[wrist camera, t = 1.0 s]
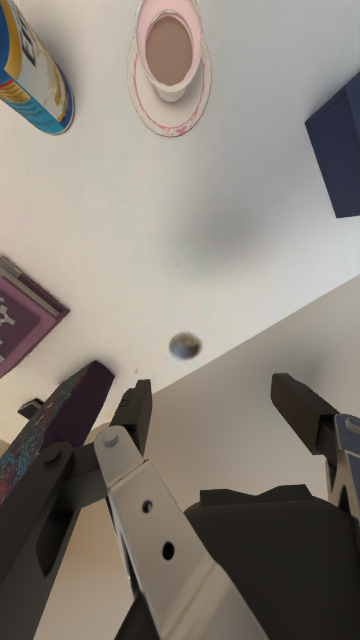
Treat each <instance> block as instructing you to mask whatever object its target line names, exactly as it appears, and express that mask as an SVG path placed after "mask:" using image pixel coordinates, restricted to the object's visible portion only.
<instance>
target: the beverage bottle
mask: <svg viewBox="0 0 360 640" xmlns="http://www.w3.org/2000/svg"><path fill="white" fill-rule="evenodd" d="M0 99H1V100H2V101H4V102H5V103H6V104H7V105H9V106H10V107H11V108H13V109H14V110H15V111H17V112H18V113H19V114H20V115H22V116H23V117H24V118H26V119H27V120H28V121H29V122H30V123H31V124H32V125H34V126H35V127H36V128H38V129H39V130H41V131H43V132H45V133H48V134H60V133H62V132H64V131H65V130H66V129H67V128H68V127H69V125H70V123H71V121H72V117H73V111H74V104H73V97H72V92H71V89H70V86H69V84H68V81H67V79H66V77H65V75H64V74H63V72H62V71H61V69H60V68H59V66H58V65H57V64H56V62H55V61H54V60H53V58H52V57H51V55H50V54H49V53H48V51H47V50H46V48H45V47H44V45H43V44H42V43H41V41H40V40H39V38H38V37H37V35H36V34H35V32H34V31H33V29H32V28H31V27H30V25H29V24H28V22H27V21H26V19H25V18H24V16H23V15H22V13H21V12H20V11H19V9H18V8H17V6H16V5H15V3H14V2H13V0H0Z"/></svg>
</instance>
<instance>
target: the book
mask: <svg viewBox="0 0 360 640" xmlns="http://www.w3.org/2000/svg"><path fill="white" fill-rule="evenodd" d="M69 312H70V311H68V310H67V309H66V308H65V307H63V306H62V305H61V304H60V303H59V302H57V301H56V300H55V299H54V298H53V297H51V296H50V295H49V294H48V293H46V292H45V291H44V290H43V289H42V288H40V287H39V286H38V285H37V284H36V283H34V282H33V281H32V280H31V279H29V278H28V277H27V276H26V275H25V274H24V273H23V272H22V271H21V270H20V269H18V268H17V267H16V266H15V265H14V264H12V263H11V262H10V261H9V260H7V259H6V258H5V257H0V379H1V378H2V377H3V376H4V375H6V374H7V373H8V372H10V371H11V370H12V369H13V368H15V367H16V366H17V365H18V364H19V363H20V362H21V361H22V360H23V359H24V358H25V357H26V356H27V355H28V354H29V353H30V352H31V351H32V350H33V349H34V348H35V347H36V346H37V345H38V344H39V343H40V342H41V341H42V339H43V338H44V337H45V336H46V335H47V334H48V333H49V332H50V331H51V330H52V329H53V328H54V327H55V326H56V325H57V324H58V323H59V322H60V321H61V320H62V319H63V318H64V317H65V316H66V315H67V314H68V313H69Z"/></svg>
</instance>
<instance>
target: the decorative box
mask: <svg viewBox="0 0 360 640" xmlns="http://www.w3.org/2000/svg"><path fill="white" fill-rule="evenodd" d="M113 380H114V376H113V375H112V374H111V373H110V372H109V371H108V370H107V369H106V368H105V367H104V366H102V365H101V364H99V363H98V362H96V361H93V362H92V363H90V364H89V365H87V366H86V367H85V368H83V369H82V370H80V371H79V372H78V373H76V374H75V375H73V376H72V377H71V378H69V379H68V380H66V381H65V382H64V383H62V384H61V385H59V387H58V388H57V389H56V390H55V391H54V392H53V393H52V395H51V396H50V397H49V398H48V399H47V400H46V401H45V402H44V404H43V405H42V406H41V407H40V408H39V409H38V410H37V412H36V413H35V414H34V415H33V416H32V418H31V419H30V420H29V422H28V423H27V424H26V426H25V427H24V428H23V429H22V431H21V432H20V433H19V435H18V436H17V437H16V439H15V440H14V441H13V442H12V444H11V445H10V446H9V448H8V449H7V450H6V452H5V453H4V454H3V455H2V457H1V459H0V506H1V504H2V503H3V502H4V500H5V499H6V497H7V496H8V495H9V493H10V492H11V491H12V489H13V488H14V486H15V485H16V484H17V482H18V481H19V480H20V478H21V477H22V476H23V474H24V473H25V471H26V470H27V469H28V467H29V466H30V465H31V463H32V462H33V460H34V459H35V458H36V457H37V456H38V455H39V454H40V453H41V452H42V451H43V450H44V449H46V448H47V447H49V446H51V445H53V444H55V443H58V442H63V441H66V442H70V443H71V444H72V447H73V449H75V448H78V447H81V446H83V444H84V442H85V440H86V438H87V436H88V434H89V432H90V430H91V428H92V426H93V424H94V422H95V421H96V419H97V417H98V415H99V413H100V411H101V409H102V407H103V404H104V402H105V400H106V397H107V395H108V392H109V390H110V387H111V385H112V382H113Z"/></svg>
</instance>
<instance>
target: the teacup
mask: <svg viewBox="0 0 360 640" xmlns="http://www.w3.org/2000/svg"><path fill="white" fill-rule="evenodd" d="M134 28H135V35H134V37H133V40H132V44H131V48H130V51H129V55H128V70H127V78H128V84H129V90H130V96H131V99H132V101H133V104H134V106H135V109H136V111H137V113H138V115H139V116H140V118H141V119H142V120H143V122H144V123H145V124H146V126H147V127H149V128H150V129H151V130H153V131H154V132H155V133H157V134H160V135H163V136H167V137H172V136H179V135H182V134H183V133H185V132H187V131H188V130H190V129H191V128H192V127H193V126H194V125H195V124H196V122H197V121H198V120H199V119H200V117H201V115H202V113H203V111H204V108H205V106H206V104H207V101H208V96H209V90H210V85H211V62H210V58H209V54H208V50H207V46H206V42H205V40H204V38H203V32H202V23H201V17H200V13H199V9H198V6H197V3H196V1H195V0H139V1H138V4H137V8H136V14H135V27H134Z"/></svg>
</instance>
